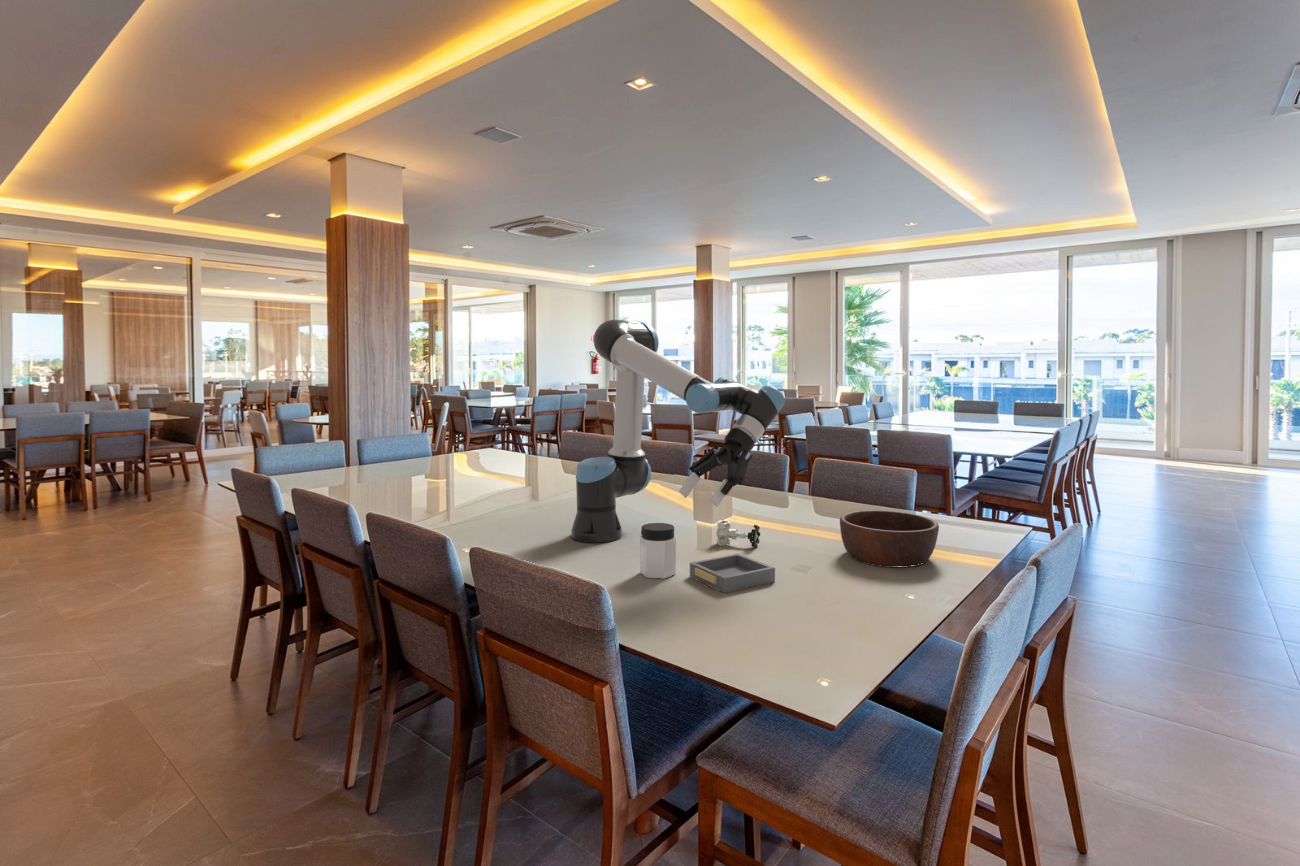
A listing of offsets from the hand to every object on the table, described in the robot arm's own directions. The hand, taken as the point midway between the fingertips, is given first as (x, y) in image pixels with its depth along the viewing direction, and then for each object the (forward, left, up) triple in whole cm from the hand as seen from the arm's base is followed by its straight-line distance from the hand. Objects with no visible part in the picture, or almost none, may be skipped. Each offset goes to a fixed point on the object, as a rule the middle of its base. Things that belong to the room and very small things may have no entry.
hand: (697, 498), depth 173 cm
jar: (-1, -11, -18) cm, 21 cm away
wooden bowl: (+19, +49, -18) cm, 55 cm away
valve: (-11, +21, -18) cm, 30 cm away
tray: (+12, +2, -18) cm, 22 cm away
